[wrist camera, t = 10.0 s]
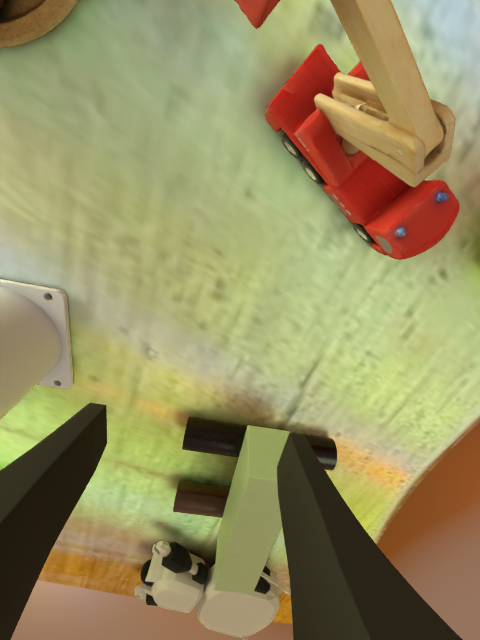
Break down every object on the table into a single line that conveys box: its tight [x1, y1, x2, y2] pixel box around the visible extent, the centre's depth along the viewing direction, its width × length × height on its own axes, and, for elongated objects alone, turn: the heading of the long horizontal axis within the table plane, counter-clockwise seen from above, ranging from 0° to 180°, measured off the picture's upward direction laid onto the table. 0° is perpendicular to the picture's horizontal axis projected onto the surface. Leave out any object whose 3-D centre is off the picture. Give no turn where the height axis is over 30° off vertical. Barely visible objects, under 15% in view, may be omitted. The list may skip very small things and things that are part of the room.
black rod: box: [182, 417, 337, 470], centre depth 23 cm, size 12×2×2 cm, turn 79°
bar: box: [214, 425, 291, 594], centre depth 21 cm, size 14×3×4 cm, turn 169°
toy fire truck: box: [235, 0, 459, 260], centre depth 10 cm, size 3×14×10 cm, turn 46°
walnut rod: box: [173, 481, 230, 518], centre depth 26 cm, size 12×2×2 cm, turn 79°
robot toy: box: [134, 541, 291, 640], centre depth 31 cm, size 12×4×15 cm
